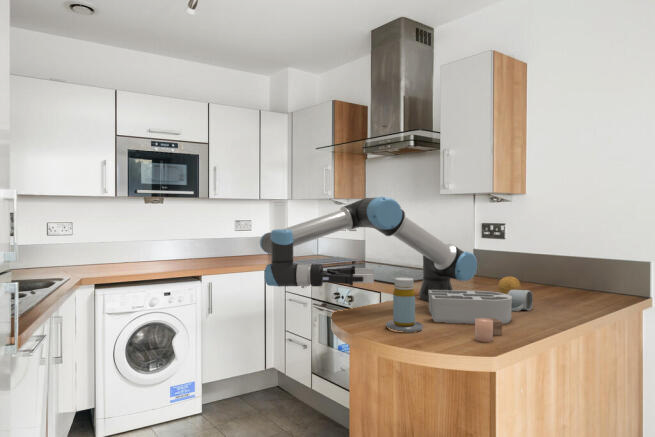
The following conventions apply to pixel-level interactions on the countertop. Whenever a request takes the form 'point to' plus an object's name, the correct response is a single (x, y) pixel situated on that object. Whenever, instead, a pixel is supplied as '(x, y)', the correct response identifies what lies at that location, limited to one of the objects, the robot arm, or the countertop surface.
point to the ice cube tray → (468, 306)
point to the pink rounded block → (484, 329)
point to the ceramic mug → (521, 299)
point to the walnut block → (496, 326)
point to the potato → (509, 284)
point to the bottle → (404, 302)
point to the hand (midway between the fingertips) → (373, 275)
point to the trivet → (415, 327)
